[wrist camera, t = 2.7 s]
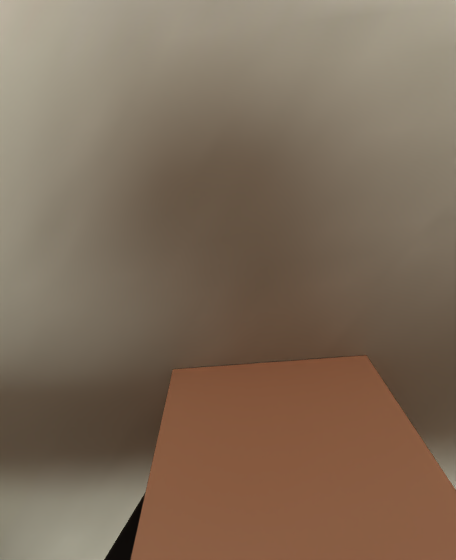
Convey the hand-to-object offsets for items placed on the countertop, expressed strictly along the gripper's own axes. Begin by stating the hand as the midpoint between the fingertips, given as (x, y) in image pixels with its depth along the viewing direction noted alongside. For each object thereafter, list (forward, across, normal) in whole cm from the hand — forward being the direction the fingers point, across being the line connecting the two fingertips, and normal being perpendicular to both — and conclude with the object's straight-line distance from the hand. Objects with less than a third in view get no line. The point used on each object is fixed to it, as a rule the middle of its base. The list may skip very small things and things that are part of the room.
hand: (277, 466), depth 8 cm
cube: (+1, 0, 0) cm, 1 cm away
